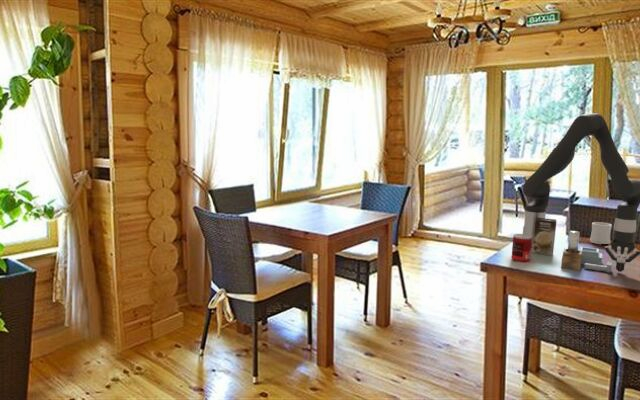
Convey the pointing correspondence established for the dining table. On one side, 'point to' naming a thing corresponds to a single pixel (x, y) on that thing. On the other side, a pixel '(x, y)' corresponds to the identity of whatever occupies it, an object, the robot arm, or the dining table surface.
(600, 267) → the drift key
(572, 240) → the peg
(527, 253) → the canned food
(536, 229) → the coffee box
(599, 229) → the mug
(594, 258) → the block
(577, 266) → the socket block
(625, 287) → the dining table surface
